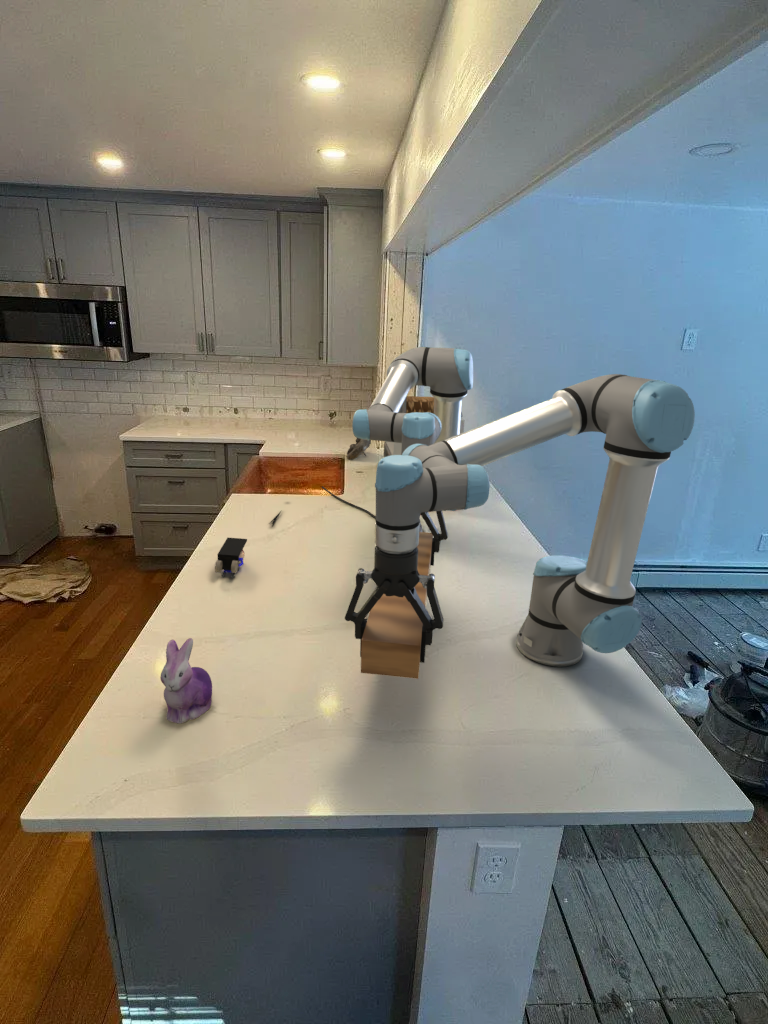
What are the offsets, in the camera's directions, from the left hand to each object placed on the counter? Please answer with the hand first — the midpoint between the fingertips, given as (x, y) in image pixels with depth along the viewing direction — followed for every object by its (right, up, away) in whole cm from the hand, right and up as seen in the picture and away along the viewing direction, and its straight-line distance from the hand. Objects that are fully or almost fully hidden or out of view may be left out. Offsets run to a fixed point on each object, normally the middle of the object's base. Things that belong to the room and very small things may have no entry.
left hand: (410, 561), depth 144 cm
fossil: (-20, +43, +158) cm, 164 cm away
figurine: (-44, -26, -35) cm, 62 cm away
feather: (-46, +11, +68) cm, 83 cm away
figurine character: (-52, -5, +23) cm, 57 cm away
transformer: (+10, +31, +131) cm, 135 cm away
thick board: (-3, -8, -20) cm, 21 cm away
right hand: (-5, -14, -39) cm, 42 cm away
